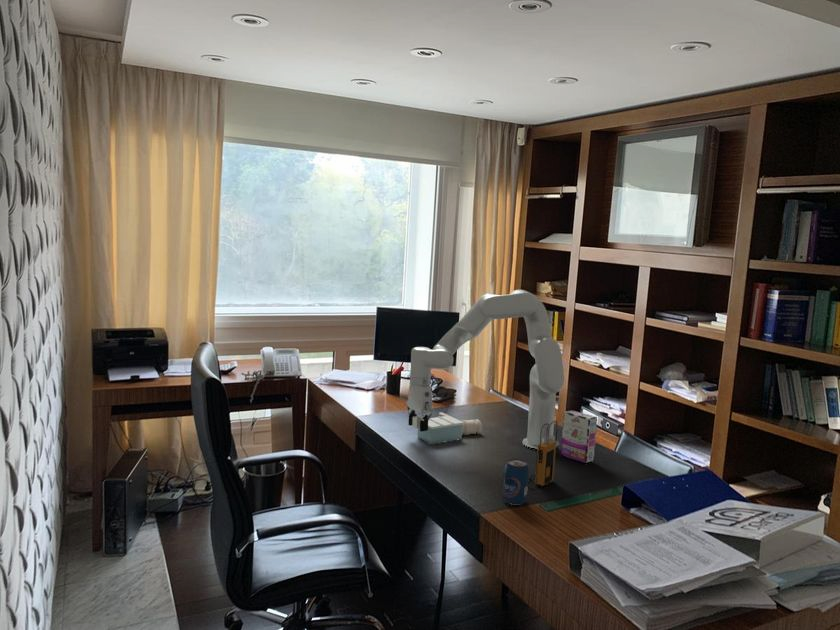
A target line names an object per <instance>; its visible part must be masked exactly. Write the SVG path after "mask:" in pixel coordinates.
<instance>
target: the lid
mask: <svg viewBox="0 0 840 630" xmlns="http://www.w3.org/2000/svg"><path fill="white" fill-rule="evenodd" d="M420 421H421V416H420V415H417V416H415V417H413V422H412V425H411V427H413V428H415V429H418V428H420ZM463 424H464V422H462V420H461V419H460V420H459V419H457V418H455V417H453V416H451V415H449V416H443V417H442V416H440V415H438V416H436V417H430V418H429V420H428V428H430V429H437V428H444V427H450V426H457V425H463Z"/></svg>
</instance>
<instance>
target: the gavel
mask: <svg viewBox="0 0 840 630" xmlns="http://www.w3.org/2000/svg"><path fill="white" fill-rule="evenodd" d="M438 416H440V417H443V416H450V415H448V414H447V413H444V412H441V411H439V413H438ZM461 421H462V422H464V424H463V425H462V436H465V435H466V436H470V434H475V435H480V434H481V433H482V431H483V424H482V422H481V420H479V419H477V418H476V419H469V420H465V419H462V420H461ZM476 433H477V434H476ZM463 434H464V435H463Z"/></svg>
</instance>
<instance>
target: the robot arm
mask: <svg viewBox="0 0 840 630" xmlns="http://www.w3.org/2000/svg"><path fill="white" fill-rule="evenodd" d="M513 318H523V319H524V322H525V327H526V332H527V333H526V334H527V341H528V342H527V344H528V351H529V353H530V355H531V356H532V358H534V360H535V363H534V365H533V366H532V367H531V369H530V372H529V402H528V403H529V404H528V405H529V406H528V415H527V416H528V419H527V430H526V431H527V435H526V437H525V438H523V439H522V445H523V446H524V445H525V446H524V447H526V446H527V447H526V448H528V447H530V448H529V449H531V448H535V449H537V448H538V445H539V444H540V434H541V443H544V442H545V440H546V435H547V438H548V431H547V427H548V428H549V426H550V424H551V423H552V422H553V421H555V413H556V401H557V400H556V399H557V393H559V392H560V390H562V388H563V386H564V384H565V374H564V373H565V372H564V365H563V357H562V356H563V355H562V350H561V347H560V344H559V343H558V341H556V339H554V338H553V337H552V330H551V325H550V319H549V315H548V312H547V308H546V307H545V305H544V303H543V302H542V301H541V299H539V298H538V297H537V296H536V295H534V294H533V293H532V292H530V291H527V290H524V289H515V290H513V291H511V292H510V293H508V294H500V295H499V294H493V293H491V292H490V293H485V294H483V295H481V297H479V298H478V300H477V301H475V303H474V304H473V305H472V306H471V308H470V309H469V310H468V311H467V312H466V313H465V314H464V315H463V316H462V317H461V319H460V320H459V321H458V322H456V323H455V324H454V325H453V326H452V327H451V329H449V330H448V331H447V332H446V333H445V334H444V335H443V336H442V337H441V339H440V340H439V341H438V342H437V343H436V344H435V345H434V346H433V348H432V349H431V348H430V347H426V346H415V347H413V348H412V349H411V351H410V354H411V355H410V372H409V373H410V375H409V387H408V396H407V400H406V401H405V403H406V406H407V410H408V411H407V415H408V426H411V427H412V422H413V417H415V416H418V414H419V416H421V421H420V431H421V432H422V431H427V430H428V420H429V418H432V415H433V411H432V410H433V393H432V386H431V380H432V379H431V377H432V369H436V370H439V371H441V370H443V371H444V370H448V369H450V368H451V367H452V366H453V364H454V356H453V355H454V354H455V353H456V352H457V351H458V350H459V349H460V348H461V347H462V346H463V345H464V344H466V343H467V342H469V341H472V340H474V339H475V338H477V337H478V336H479V335H480V334H481V333H482V332H483V330H484V329H485V328H486V327H487V325H489V323H490V322H492V320H503V319H504V320H505V319H513ZM417 413H418V414H417ZM544 424H547V425H544ZM548 424H549V426H548ZM543 425H544V426H543ZM554 425H555V422H553V423H552V424H551V426H550V428H549V441H553V442H555V441H556V448H557V446H559V445H560V442H559V441H558V440H556V435H554V428H555V427H554ZM542 427H543V428H542ZM541 429H542V432H541ZM535 449H534V450H535Z"/></svg>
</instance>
